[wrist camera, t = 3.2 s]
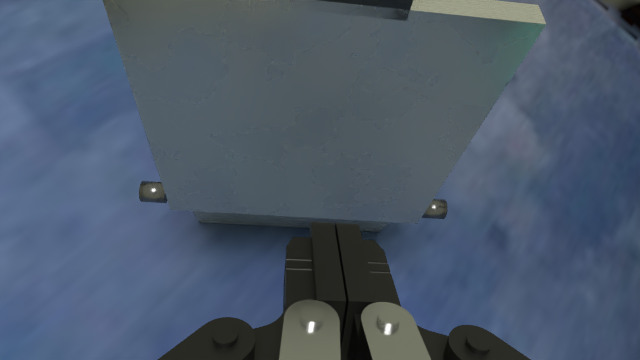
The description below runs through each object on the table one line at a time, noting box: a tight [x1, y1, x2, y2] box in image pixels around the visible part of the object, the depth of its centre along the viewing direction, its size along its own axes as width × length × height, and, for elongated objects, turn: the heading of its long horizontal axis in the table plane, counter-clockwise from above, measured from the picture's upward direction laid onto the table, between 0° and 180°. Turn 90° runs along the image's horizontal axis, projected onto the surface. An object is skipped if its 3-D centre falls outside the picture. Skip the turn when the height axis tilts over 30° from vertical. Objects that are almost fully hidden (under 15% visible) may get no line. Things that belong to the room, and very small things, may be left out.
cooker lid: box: [103, 0, 546, 224], centre depth 23 cm, size 20×17×1 cm
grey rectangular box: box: [139, 181, 447, 232], centre depth 38 cm, size 17×24×10 cm
